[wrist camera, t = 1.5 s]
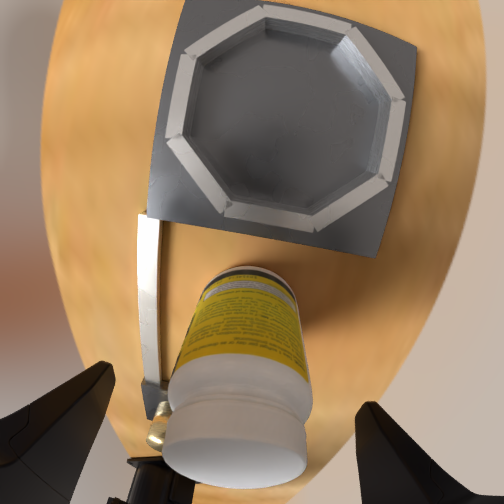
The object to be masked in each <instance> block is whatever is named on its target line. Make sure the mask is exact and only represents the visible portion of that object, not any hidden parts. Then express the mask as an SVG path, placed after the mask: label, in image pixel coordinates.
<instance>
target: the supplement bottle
mask: <svg viewBox="0 0 504 504" xmlns="http://www.w3.org/2000/svg"><path fill="white" fill-rule="evenodd" d="M168 400H169V404H170V407H171V409H172V411H173V413H172V415H171V416H170V418H169V419H168V422H167V429H166V434H165V439H164V443H163V448H162V455H163V458H164V460H165V462H166V463H167V464H168V465H169V466H170V467H171V468H172V469H174V470H175V471H177V472H178V473H180V474H182V475H183V476H186V477H188V478H190V479H192V480H195V481H198V482H201V483H205V484H209V485H213V486H218V487H225V488H236V489H255V488H265V487H270V486H275V485H280V484H283V483H286V482H288V481H291V480H293V479H295V478H297V477H298V476H300V475H301V474H302V473H303V472H304V470H305V469H306V466H307V445H306V432H305V427H304V424H305V422H306V421H307V419H308V418H309V415H310V413H311V410H312V404H313V397H312V388H311V381H310V375H309V369H308V364H307V358H306V352H305V346H304V340H303V334H302V328H301V323H300V317H299V310H298V305H297V300H296V298H295V295H294V293H293V291H292V289H291V288H290V286H289V285H288V284H287V283H286V281H285V280H284V279H282V278H281V277H280V276H279V275H277V274H275V273H274V272H272V271H270V270H267V269H264V268H260V267H255V266H240V267H235V268H231V269H228V270H225V271H223V272H221V273H220V274H218V275H216V276H215V277H214V278H213V279H212V280H211V281H210V282H209V283H208V284H207V285H206V287H205V288H204V290H203V292H202V294H201V297H200V299H199V302H198V304H197V307H196V310H195V313H194V315H193V318H192V320H191V323H190V325H189V328H188V331H187V334H186V336H185V339H184V342H183V345H182V347H181V350H180V353H179V356H178V358H177V361H176V364H175V367H174V369H173V372H172V375H171V379H170V382H169V387H168Z"/></svg>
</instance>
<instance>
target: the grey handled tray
mask: <svg viewBox="0 0 504 504" xmlns="http://www.w3.org/2000/svg"><path fill="white" fill-rule="evenodd" d="M416 54H417V47H416V46H414V45H412V44H410V43H408V42H406V41H403V40H401V39H399V38H397V37H394V36H392V35H390V34H387V33H385V32H382V31H380V30H377V29H375V28H372V27H369V26H367V25H364V24H361V23H358V22H355V21H352V20H349V19H346V18H342V17H339V16H335V15H332V14H328V13H324V12H320V11H316V10H312V9H308V8H303V7H298V6H293V5H288V4H282V3H276V2H269V1H261V0H185V3H184V6H183V9H182V12H181V16H180V19H179V23H178V26H177V30H176V33H175V37H174V41H173V44H172V48H171V52H170V57H169V61H168V65H167V69H166V74H165V79H164V84H163V89H162V94H161V99H160V105H159V110H158V116H157V122H156V129H155V136H154V143H153V151H152V159H151V168H150V178H149V189H148V201H147V212H142V213H140V214H139V221H138V304H139V322H140V336H141V348H142V358H143V367H144V375H145V376H144V379H143V381H142V383H141V387H142V394H143V400H144V405H145V411H146V416H147V419H148V420H152V424H151V427H150V430H149V433H148V436H147V439H146V442H147V444H148V445H149V446H150V447H152V448H153V449H155V450H157V451H159V452H162V448H163V443H164V439H165V434H166V429H167V422H168V419H169V418H170V416H171V415H172V413H173V411H172V409H171V407H170V404H169V400H168V387H169V382H167V381H163V380H162V372H161V351H160V264H161V243H162V227H163V220H164V221H170V222H176V223H183V224H189V225H195V226H201V227H206V228H212V229H218V230H224V231H230V232H236V233H241V234H247V235H253V236H258V237H264V238H269V239H275V240H281V241H286V242H292V243H297V244H302V245H308V246H313V247H318V248H324V249H329V250H334V251H340V252H345V253H350V254H355V255H360V256H365V257H371V258H376V255H377V252H378V249H379V246H380V243H381V240H382V237H383V233H384V230H385V227H386V223H387V220H388V216H389V213H390V209H391V205H392V201H393V198H394V194H395V190H396V185H397V181H398V177H399V173H400V168H401V163H402V159H403V154H404V149H405V143H406V138H407V132H408V126H409V120H410V113H411V106H412V98H413V90H414V80H415V69H416Z"/></svg>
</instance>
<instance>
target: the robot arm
mask: <svg viewBox="0 0 504 504" xmlns="http://www.w3.org/2000/svg"><path fill="white" fill-rule="evenodd" d="M114 386H115V374H114V370H113V366H112V364H111V363H108V362H105V361H99V362H98V363H96V364H94V365H93V366H91V367H89V368H88V369H86V370H85V371H83V372H81V373H80V374H78V375H76V376H75V377H73V378H71V379H70V380H68V381H67V382H65V383H63V384H62V385H60V386H58V387H57V388H55V389H53V390H52V391H50V392H48V393H47V394H45V395H43V396H42V397H40V398H38V399H37V400H35V401H33V402H32V403H30V405H27V406H25V407H23V408H21V409H20V410H18V411H16V412H14V413H12V414H10V415H8V416H6V417H4V418H2V419H0V504H70V501H71V498H72V495H73V493H74V490H75V487H76V485H77V482H78V479H79V477H80V474H81V472H82V469H83V466H84V464H85V461H86V459H87V457H88V454H89V452H90V449H91V447H92V445H93V443H94V440H95V438H96V436H97V433H98V431H99V429H100V426H101V424H102V422H103V419H104V417H105V414H106V411H107V407H108V404H109V401H110V398H111V395H112V392H113V389H114ZM355 437H356V456H357V464H358V472H359V480H360V488H361V497H362V504H504V496H488V495H479V494H475V493H473V492H471V491H470V490H468V489H467V488H465V487H464V486H463V485H462V484H460V483H459V482H458V481H456V480H455V479H454V478H453V477H451V476H450V475H449V474H448V473H447V472H445V471H444V470H443V469H442V468H441V467H440V466H439V465H438V464H437V463H436V462H435V461H434V460H433V459H431V457H430V456H429V455H428V454H427V453H426V452H425V451H424V450H423V449H422V448H421V447H420V446H419V445H418V444H417V443H416V442H415V441H414V440H413V439H412V438H411V437H410V436H409V435H408V434H407V433H406V432H405V431H404V430H403V429H402V428H401V427H400V426H399V425H398V424H397V423H396V422H395V421H394V420H393V419H392V418H391V417H390V416H389V415H388V414H387V412H385V410H384V409H383V408H382V407H381V406H380V405H379V404H378V403H377V402H375V401H367V402H365V403H364V404H363V405H362V407H361V408H360V409H359V411H358V412H357V414H356V416H355ZM127 463H128V464H130V465H132V466H133V467H135V468H137V469H136V472H135V475H134V478H133V482H132V485H131V488H130V491H129V494H128V499H127V501H126V502H125V501H122V500H120V499H119V498H116V497H115V498H111V497H109V498H108V501H107V504H192V499H193V493H194V488H195V484H199V483H201V482H198V481H195V480H192V479H190V478H188V477H186V476H183V475H182V474H180V473H178V472H177V471H175V470H174V469H172V468H171V467H170V466H169V465H168V464H167V463H166V462H165V460H164V458H163V457H156V458H135V459H127Z"/></svg>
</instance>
